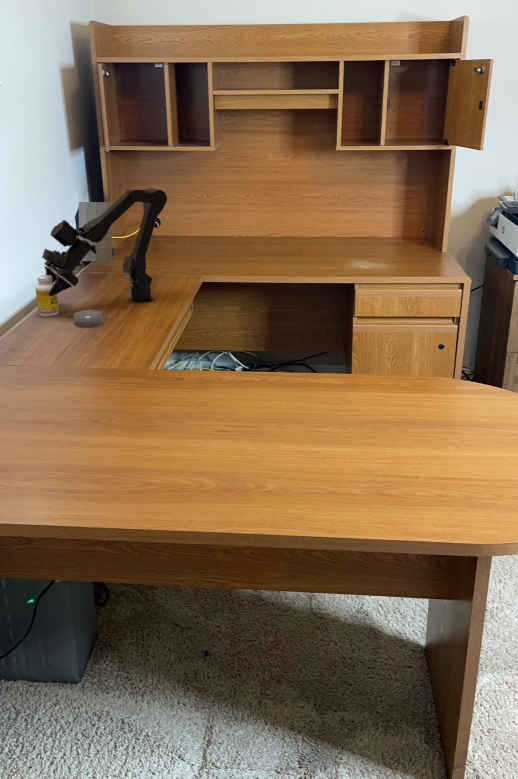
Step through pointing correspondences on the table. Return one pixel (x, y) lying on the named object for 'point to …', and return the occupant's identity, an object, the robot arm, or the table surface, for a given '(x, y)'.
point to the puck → (88, 318)
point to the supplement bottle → (46, 297)
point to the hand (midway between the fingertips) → (45, 292)
